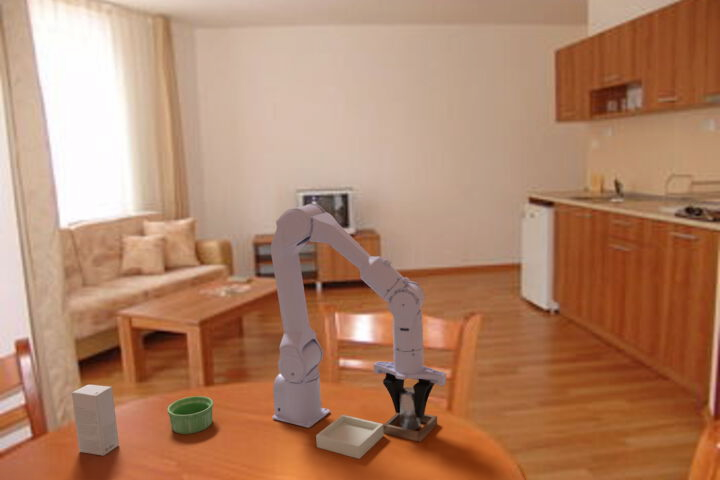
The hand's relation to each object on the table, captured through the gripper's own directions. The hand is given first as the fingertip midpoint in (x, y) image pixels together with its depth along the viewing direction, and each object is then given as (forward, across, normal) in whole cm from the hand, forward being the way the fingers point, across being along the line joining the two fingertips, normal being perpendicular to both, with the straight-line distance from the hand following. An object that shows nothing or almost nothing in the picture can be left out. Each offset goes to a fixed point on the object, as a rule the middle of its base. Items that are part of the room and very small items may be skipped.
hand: (409, 413), depth 110 cm
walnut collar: (+3, 0, 0) cm, 3 cm away
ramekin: (+4, -41, -18) cm, 45 cm away
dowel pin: (+2, 0, 0) cm, 2 cm away
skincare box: (+4, -50, -33) cm, 60 cm away
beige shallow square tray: (+3, -8, -10) cm, 13 cm away
